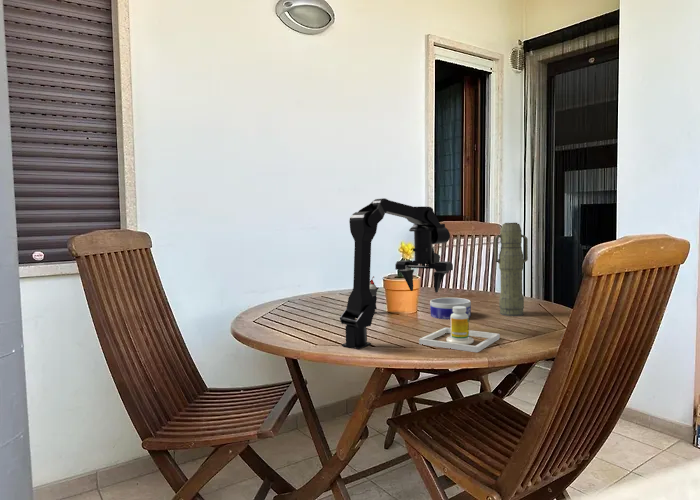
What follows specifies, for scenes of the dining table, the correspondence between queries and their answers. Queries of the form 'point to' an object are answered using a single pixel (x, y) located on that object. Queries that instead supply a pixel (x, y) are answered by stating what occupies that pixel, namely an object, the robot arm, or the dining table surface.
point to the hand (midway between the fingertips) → (423, 291)
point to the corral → (429, 341)
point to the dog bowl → (448, 307)
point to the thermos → (511, 268)
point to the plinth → (468, 341)
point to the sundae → (373, 288)
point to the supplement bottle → (459, 323)
